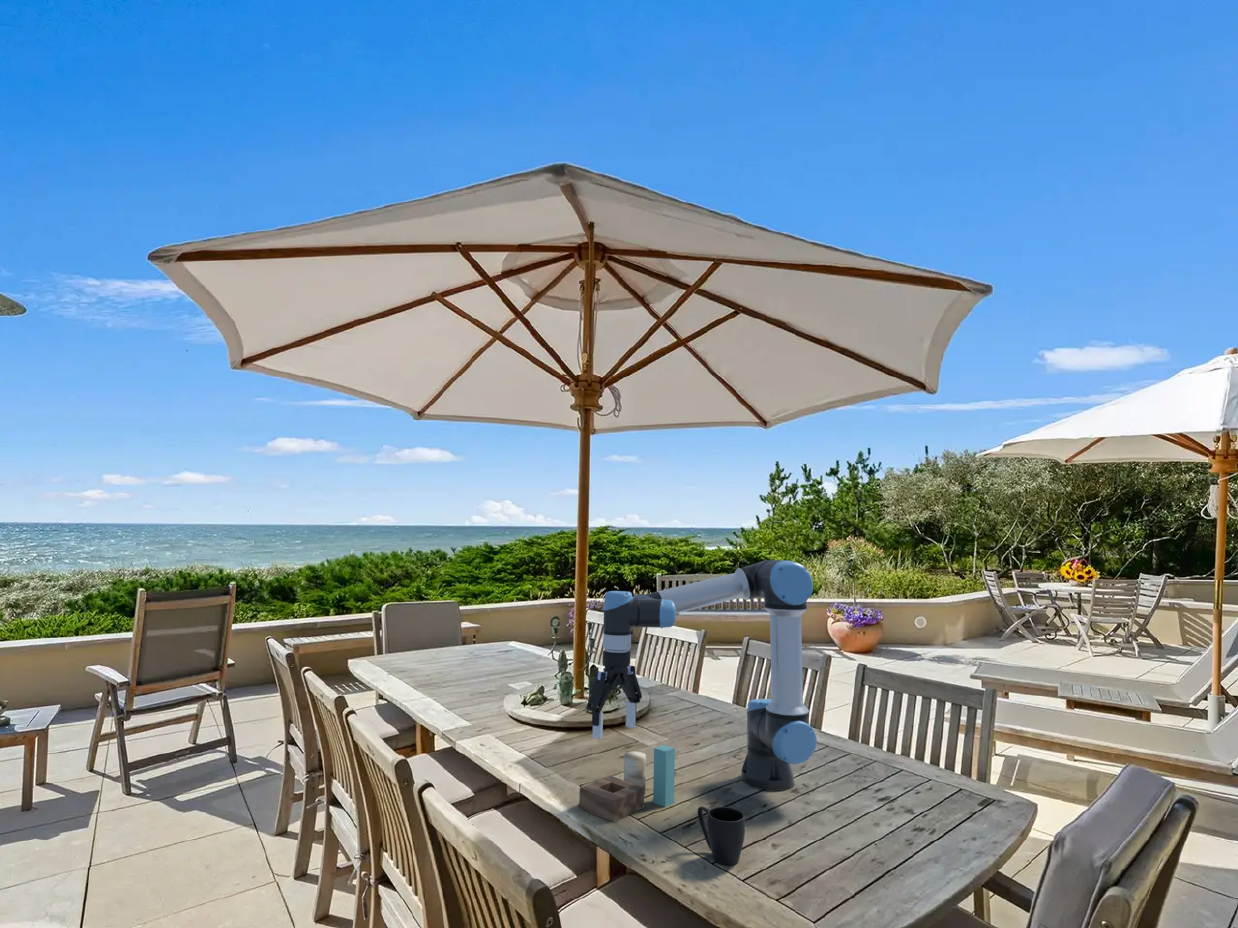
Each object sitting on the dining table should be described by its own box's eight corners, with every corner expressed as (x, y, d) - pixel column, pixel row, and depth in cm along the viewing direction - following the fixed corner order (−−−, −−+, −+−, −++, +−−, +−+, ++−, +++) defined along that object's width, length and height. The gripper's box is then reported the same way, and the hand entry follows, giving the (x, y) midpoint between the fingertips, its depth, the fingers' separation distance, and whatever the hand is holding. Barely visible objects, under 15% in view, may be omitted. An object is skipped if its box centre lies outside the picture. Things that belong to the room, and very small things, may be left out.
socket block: (609, 794, 175) (609, 775, 175) (643, 807, 167) (644, 787, 168) (579, 807, 166) (579, 787, 166) (614, 821, 158) (614, 800, 158)
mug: (711, 840, 149) (712, 797, 150) (752, 861, 140) (752, 815, 141) (687, 850, 144) (687, 806, 145) (727, 872, 135) (728, 825, 136)
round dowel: (632, 786, 181) (633, 749, 182) (649, 792, 177) (650, 754, 178) (619, 792, 176) (620, 754, 177) (636, 798, 172) (636, 760, 174)
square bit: (662, 798, 173) (662, 744, 175) (674, 802, 170) (674, 747, 172) (653, 802, 170) (654, 748, 172) (665, 807, 167) (666, 751, 169)
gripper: (634, 643, 183) (632, 720, 180) (574, 653, 164) (571, 739, 161) (655, 646, 178) (653, 725, 175) (596, 657, 159) (593, 746, 156)
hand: (614, 732), depth 168 cm, fingers open, 13 cm apart
